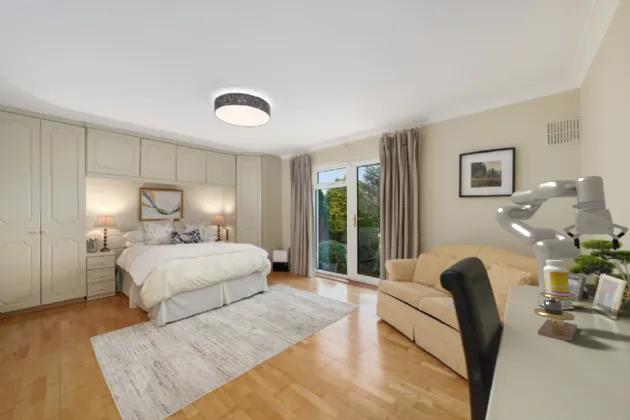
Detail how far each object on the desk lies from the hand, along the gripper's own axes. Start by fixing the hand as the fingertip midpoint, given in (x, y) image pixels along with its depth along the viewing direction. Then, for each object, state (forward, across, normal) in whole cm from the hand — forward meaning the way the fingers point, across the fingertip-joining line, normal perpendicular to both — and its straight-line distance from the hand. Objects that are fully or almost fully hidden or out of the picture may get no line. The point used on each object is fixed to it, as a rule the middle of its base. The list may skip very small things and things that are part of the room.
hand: (596, 249), depth 98 cm
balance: (+28, -10, -26) cm, 39 cm away
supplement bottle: (+17, -10, -19) cm, 27 cm away
